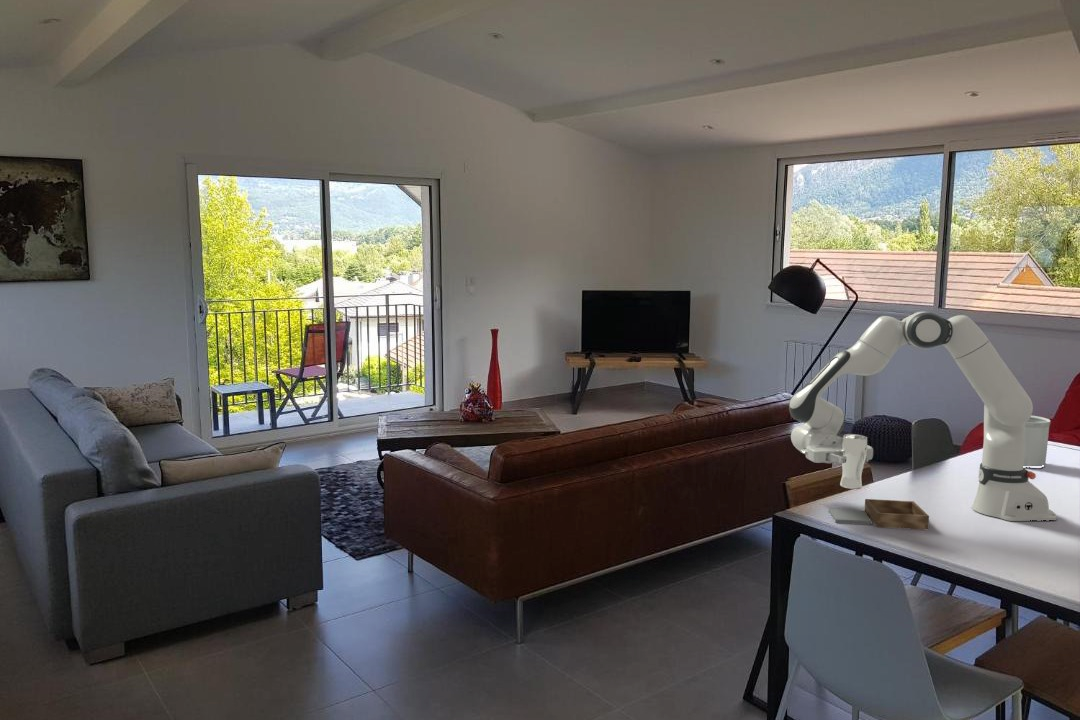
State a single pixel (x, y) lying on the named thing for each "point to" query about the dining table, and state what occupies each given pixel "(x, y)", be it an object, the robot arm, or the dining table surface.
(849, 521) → the slate mat
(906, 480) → the dining table surface
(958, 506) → the dining table surface
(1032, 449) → the utensil holder
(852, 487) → the beer glass
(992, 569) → the dining table surface
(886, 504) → the wooden tray
